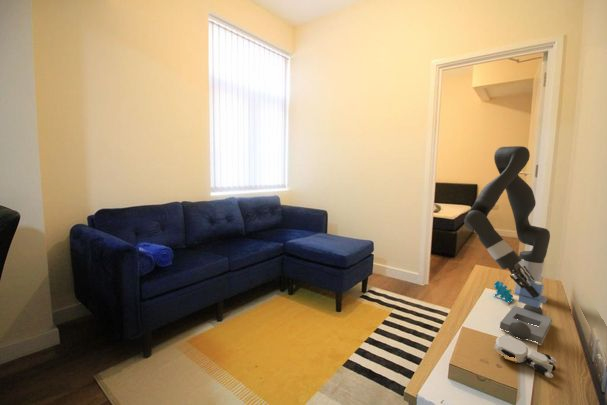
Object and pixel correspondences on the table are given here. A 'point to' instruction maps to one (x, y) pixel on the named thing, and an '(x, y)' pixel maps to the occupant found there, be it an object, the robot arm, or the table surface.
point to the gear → (503, 291)
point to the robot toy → (525, 354)
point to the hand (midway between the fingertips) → (537, 294)
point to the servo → (528, 299)
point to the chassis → (521, 325)
